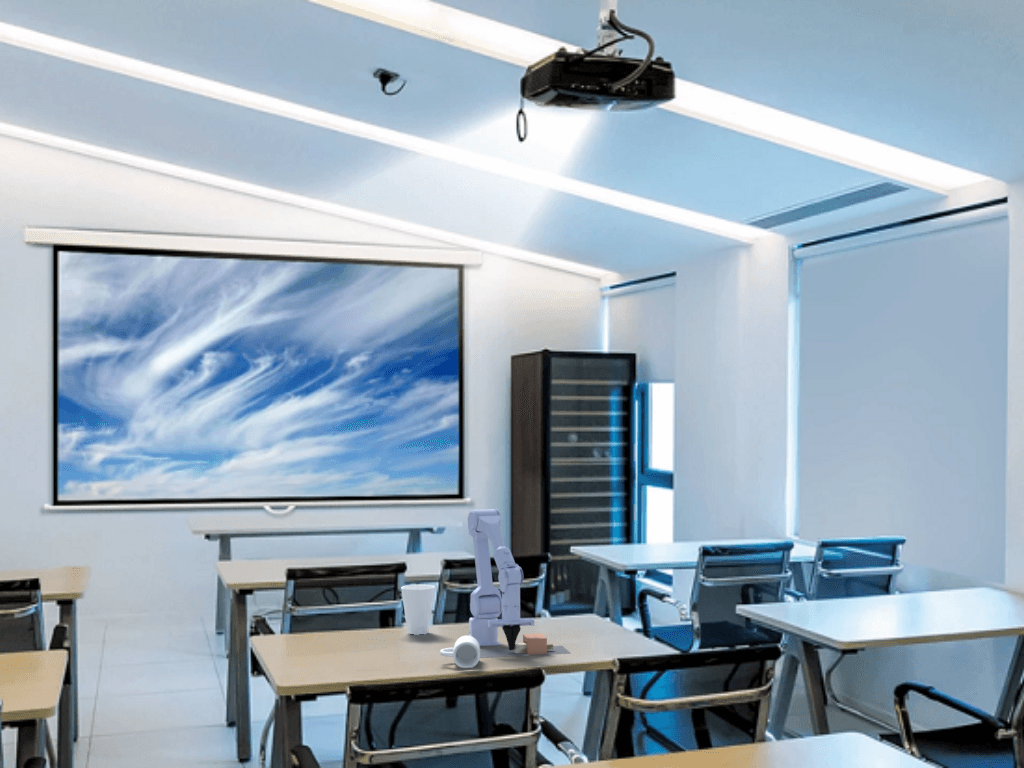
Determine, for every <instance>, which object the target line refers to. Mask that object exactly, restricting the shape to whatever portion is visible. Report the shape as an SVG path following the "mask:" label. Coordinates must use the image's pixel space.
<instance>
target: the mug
mask: <svg viewBox="0 0 1024 768" xmlns="http://www.w3.org/2000/svg"><path fill="white" fill-rule="evenodd" d="M480 650H481V646H480V645H479V643H478V641H477V640H476V639H475V638H474V637H472V636H469V635H462V636H460V637H458V638H457V640H456V641H455V643H454V644H453V647H446V648H441V649H440V650H439V654H440V655H441V656H442V657H447V658H453V661H454V663H455V665H456V666H457V667H459V668H460V669H461V668H462V669H464V668H465V669H467V668H475V667H476V666H477V665H478V663H479V661H480V659H481V658H480Z"/></svg>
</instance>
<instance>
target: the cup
mask: <svg viewBox="0 0 1024 768" xmlns="http://www.w3.org/2000/svg"><path fill="white" fill-rule="evenodd" d="M435 588H436V586H435V585H432V584H423V583H422V584H419V583H418V584H406V585H403V586H401V587H400V589H401V596H402V602H403V609H404V611H403V612H404V617H405V618H404V619H405V625H406V627H407V634H408V633H409V634H408V635H410V634H414V635H413V636H420V635H419V634H424V635H427V633H428V634H429V627H430V626H431V620H432V613H433V612H432V611H433V605H434V604H433V603H434V596H435Z"/></svg>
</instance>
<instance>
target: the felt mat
mask: <svg viewBox="0 0 1024 768" xmlns="http://www.w3.org/2000/svg"><path fill="white" fill-rule="evenodd" d="M565 654H571V651H569V649H567V648H565V646H563V645H553V650H547V654H532V655H528V654H527V653H515V652H514V650H509V647H508V648H505V647H504V648H488V649H487V648H486V649H485V648H484V649H480V659H485V658H487V659H488V658H505V657H525V656H527V657H528V656H529V657H530V656H545V655H565Z"/></svg>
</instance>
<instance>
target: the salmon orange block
mask: <svg viewBox="0 0 1024 768" xmlns="http://www.w3.org/2000/svg"><path fill="white" fill-rule="evenodd" d="M547 640H548V638H547V637H546V636H545V635H544V634H543V633H524V634H522V643H527V654H528V655H530V656H533V655H532V654H547V644H548V641H547Z"/></svg>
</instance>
